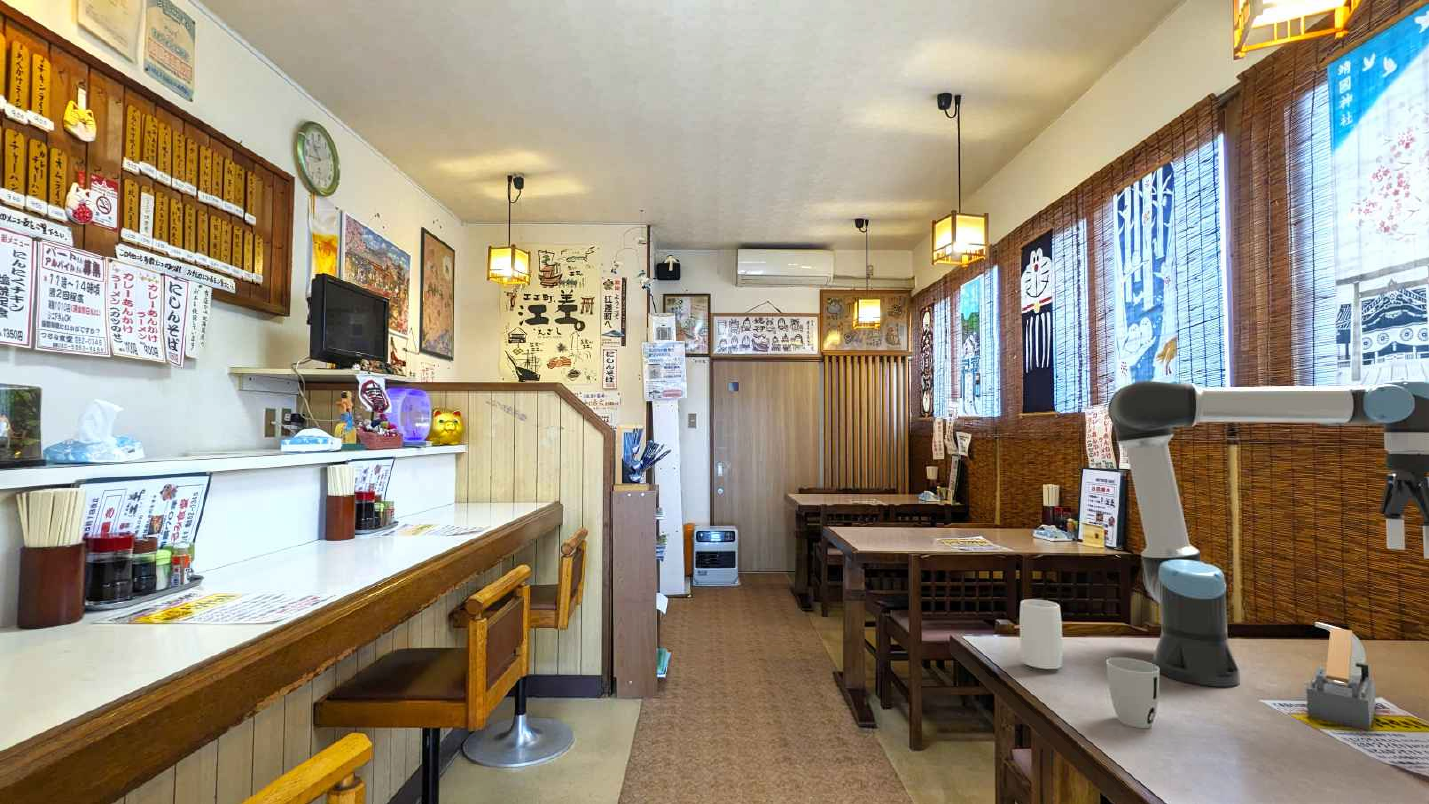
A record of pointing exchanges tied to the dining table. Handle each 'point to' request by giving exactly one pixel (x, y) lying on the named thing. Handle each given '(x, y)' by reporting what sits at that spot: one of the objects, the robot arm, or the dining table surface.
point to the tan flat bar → (1339, 655)
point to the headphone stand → (1356, 651)
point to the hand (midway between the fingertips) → (1414, 553)
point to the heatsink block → (1342, 699)
